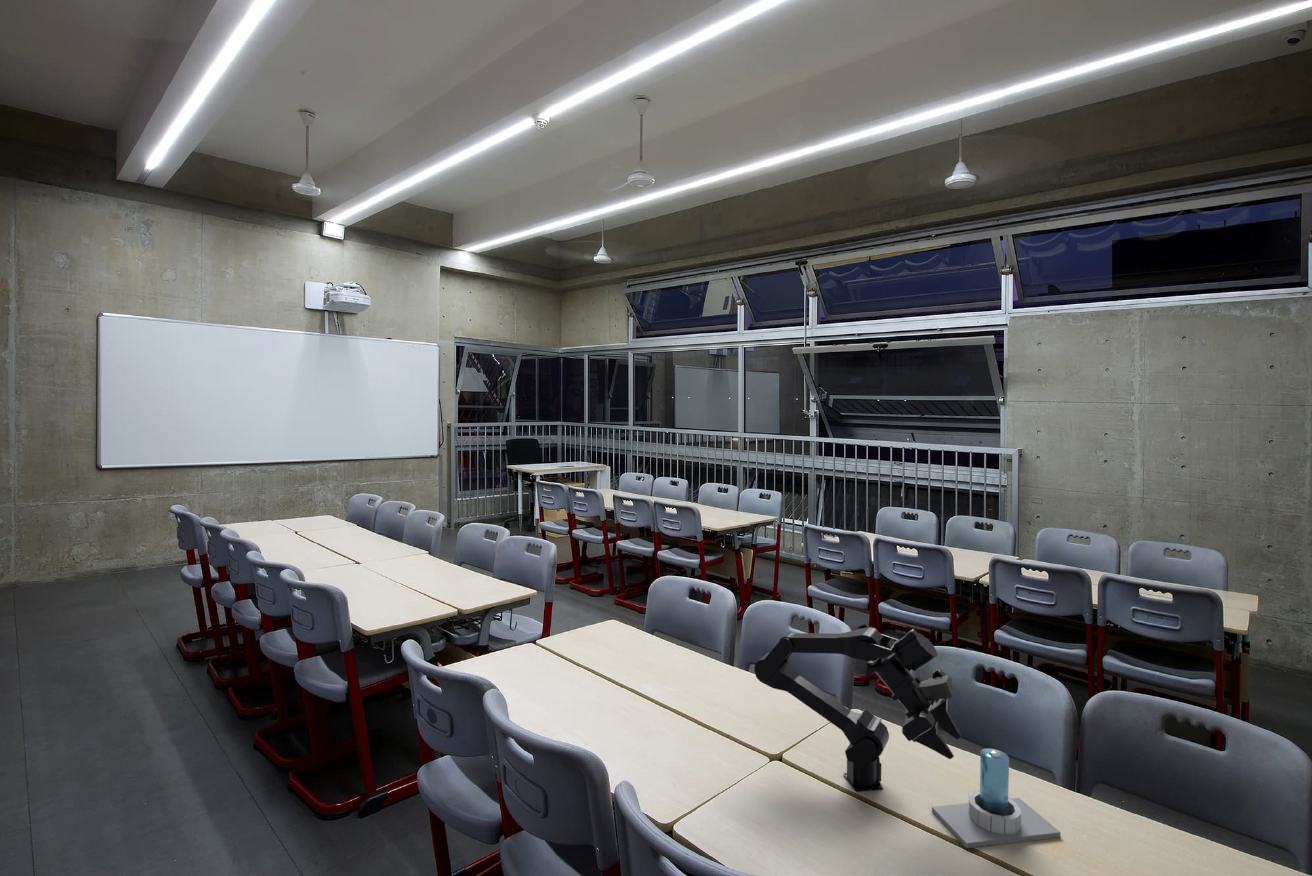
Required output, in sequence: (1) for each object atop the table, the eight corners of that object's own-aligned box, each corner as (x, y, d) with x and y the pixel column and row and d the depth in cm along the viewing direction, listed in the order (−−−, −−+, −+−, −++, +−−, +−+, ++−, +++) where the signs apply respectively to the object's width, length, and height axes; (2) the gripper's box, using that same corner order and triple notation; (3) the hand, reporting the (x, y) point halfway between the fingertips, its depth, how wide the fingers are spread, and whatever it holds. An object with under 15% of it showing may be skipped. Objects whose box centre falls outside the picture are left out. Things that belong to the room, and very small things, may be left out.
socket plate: (966, 848, 117) (967, 827, 117) (931, 811, 128) (932, 792, 128) (1060, 837, 120) (1060, 817, 120) (1018, 802, 131) (1019, 783, 131)
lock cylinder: (977, 821, 123) (979, 754, 123) (981, 807, 127) (982, 743, 127) (1006, 830, 120) (1008, 762, 120) (1008, 816, 125) (1010, 750, 124)
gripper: (920, 677, 122) (981, 749, 116) (937, 648, 137) (992, 710, 132) (878, 706, 127) (935, 776, 121) (899, 674, 142) (951, 735, 136)
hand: (955, 747), depth 127 cm, fingers open, 9 cm apart
